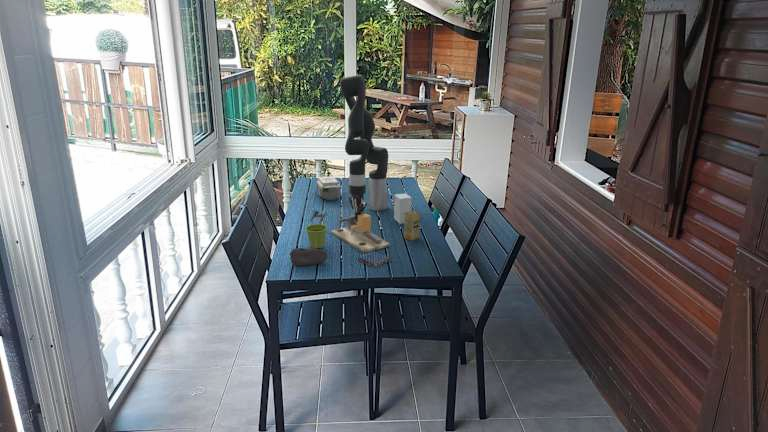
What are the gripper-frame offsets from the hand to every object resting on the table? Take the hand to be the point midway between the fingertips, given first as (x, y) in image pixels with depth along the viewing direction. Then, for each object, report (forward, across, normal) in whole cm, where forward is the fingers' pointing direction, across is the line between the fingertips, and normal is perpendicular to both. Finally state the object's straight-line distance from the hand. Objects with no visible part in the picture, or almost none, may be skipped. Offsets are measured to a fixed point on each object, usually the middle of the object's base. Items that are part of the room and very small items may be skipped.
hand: (357, 219), depth 236 cm
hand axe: (+8, +21, -10) cm, 24 cm away
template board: (+7, -7, +3) cm, 10 cm away
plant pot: (+7, -4, +23) cm, 24 cm away
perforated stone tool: (+8, -19, +34) cm, 39 cm away
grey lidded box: (+7, +62, -17) cm, 64 cm away
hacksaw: (+8, +26, +6) cm, 28 cm away
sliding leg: (+5, -6, +2) cm, 8 cm away
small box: (+7, +4, -28) cm, 29 cm away
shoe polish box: (+7, -18, -18) cm, 26 cm away
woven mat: (+8, -30, +10) cm, 32 cm away
